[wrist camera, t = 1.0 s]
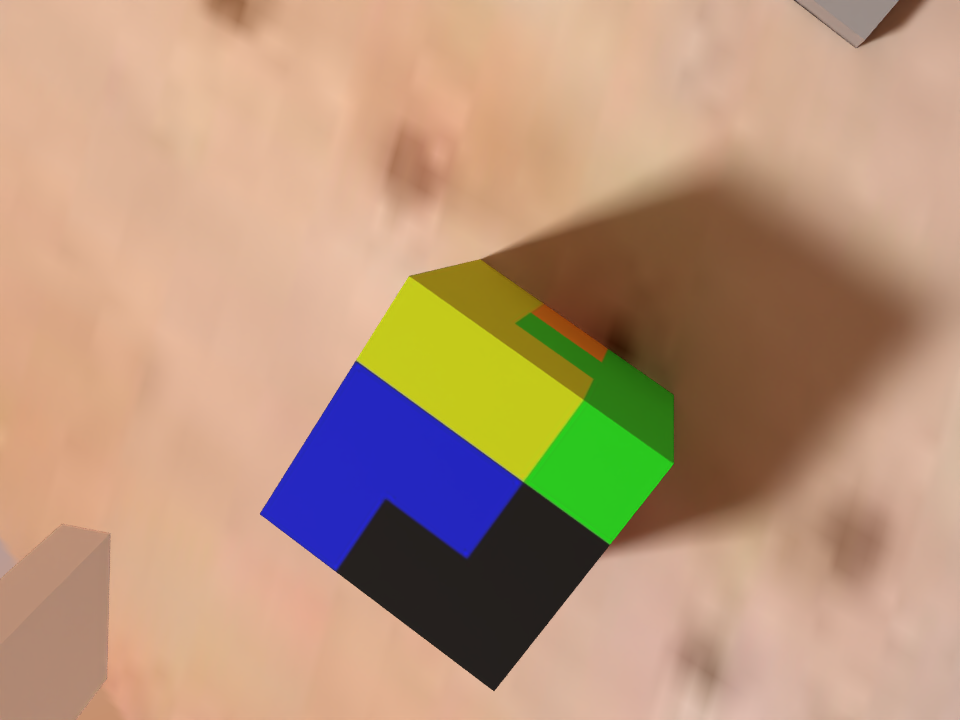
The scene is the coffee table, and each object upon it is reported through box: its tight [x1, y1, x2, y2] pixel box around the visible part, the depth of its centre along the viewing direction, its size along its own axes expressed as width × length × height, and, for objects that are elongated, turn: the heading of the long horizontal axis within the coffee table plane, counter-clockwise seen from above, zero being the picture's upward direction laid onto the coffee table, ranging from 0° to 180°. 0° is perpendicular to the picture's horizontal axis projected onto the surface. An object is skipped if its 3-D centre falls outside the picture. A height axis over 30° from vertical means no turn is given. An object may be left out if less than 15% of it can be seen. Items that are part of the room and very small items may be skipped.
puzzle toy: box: [260, 259, 674, 691], centre depth 32 cm, size 10×10×10 cm
